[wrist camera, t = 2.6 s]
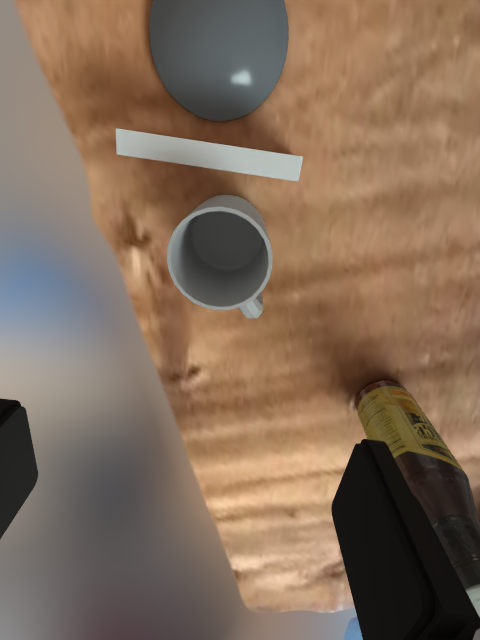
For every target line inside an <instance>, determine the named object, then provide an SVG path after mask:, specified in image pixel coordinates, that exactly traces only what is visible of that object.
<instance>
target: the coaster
mask: <svg viewBox="0 0 480 640" xmlns="http://www.w3.org/2000/svg"><path fill="white" fill-rule="evenodd" d="M149 35H150V45H151V52H152V56H153V60H154V63H155V66H156V69H157V72H158V74H159V76H160V78H161V80H162V82H163V84H164V85H165V87H166V88H167V90H168V91H169V93H170V94H171V95H172V96H173V98H174V99H175V100H176V101H177V102H178V103H179V104H180V105H181V106H183V107H184V108H185V109H187V110H188V111H189V112H191V113H193V114H194V115H196V116H198V117H201V118H204V119H207V120H211V121H231V120H235V119H238V118H241V117H243V116H246V115H247V114H249V113H251V112H252V111H254V110H255V109H256V108H258V107H259V106H260V105H261V104H262V103H263V102H264V101H265V100H266V99H267V97H268V96H269V95H270V93H271V92H272V90H273V89H274V87H275V85H276V84H277V81H278V79H279V77H280V75H281V72H282V69H283V66H284V63H285V59H286V54H287V48H288V19H287V13H286V8H285V3H284V0H153V3H152V7H151V13H150V24H149Z"/></svg>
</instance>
